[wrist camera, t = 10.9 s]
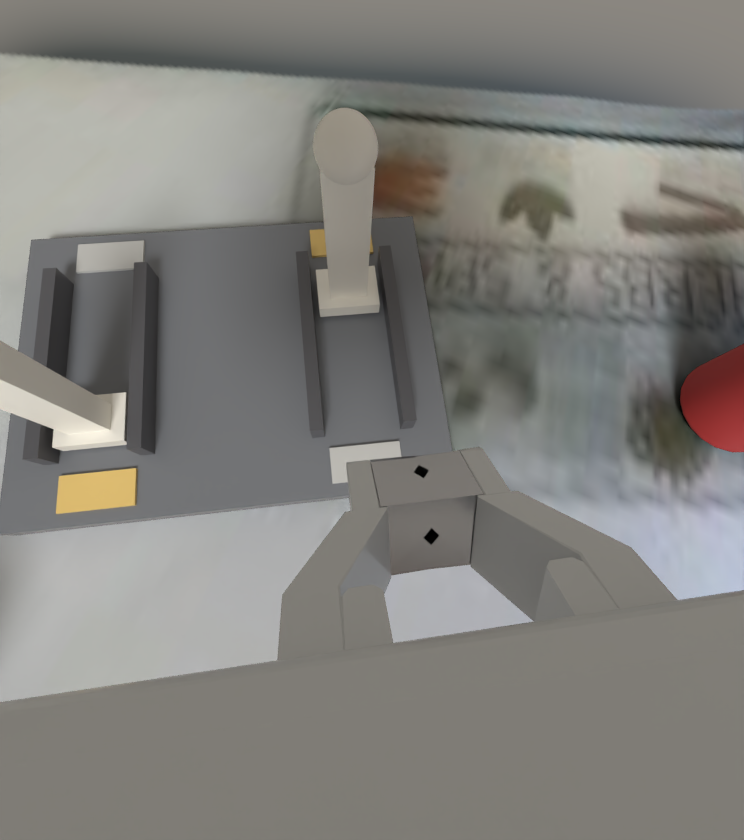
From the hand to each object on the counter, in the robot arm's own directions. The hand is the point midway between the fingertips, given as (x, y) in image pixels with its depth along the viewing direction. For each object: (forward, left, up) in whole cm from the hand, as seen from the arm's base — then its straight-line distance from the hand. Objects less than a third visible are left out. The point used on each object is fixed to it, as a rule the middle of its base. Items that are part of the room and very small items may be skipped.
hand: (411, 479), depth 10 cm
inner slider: (-18, +2, -16) cm, 24 cm away
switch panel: (-11, +8, -18) cm, 23 cm away
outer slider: (-5, +14, -16) cm, 22 cm away
